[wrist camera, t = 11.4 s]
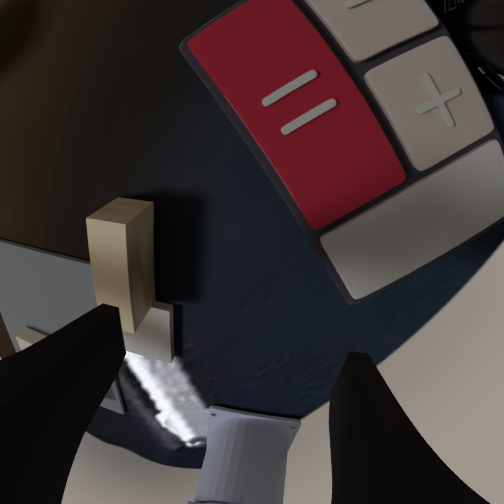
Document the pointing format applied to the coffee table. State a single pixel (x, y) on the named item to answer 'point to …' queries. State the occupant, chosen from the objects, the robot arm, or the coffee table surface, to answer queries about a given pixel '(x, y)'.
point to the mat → (46, 295)
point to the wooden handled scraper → (130, 275)
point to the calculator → (359, 129)
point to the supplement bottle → (477, 37)
